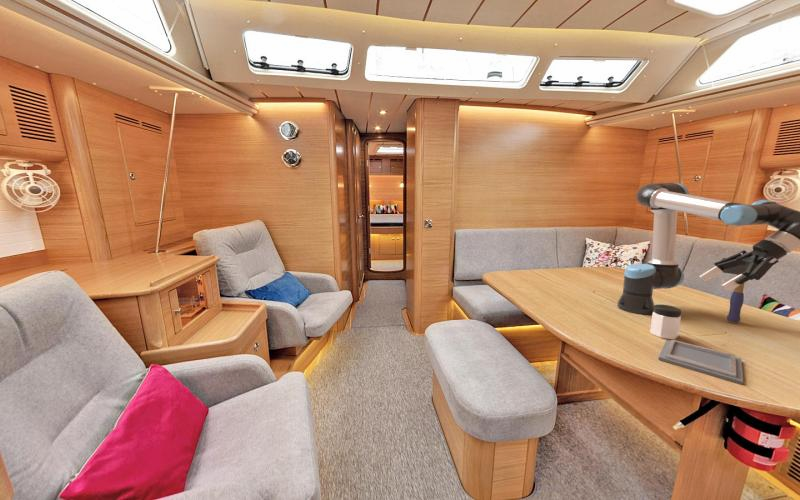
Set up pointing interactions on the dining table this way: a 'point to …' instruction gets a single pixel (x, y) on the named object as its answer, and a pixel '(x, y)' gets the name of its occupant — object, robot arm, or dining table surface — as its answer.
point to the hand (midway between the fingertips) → (713, 283)
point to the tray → (698, 364)
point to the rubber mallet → (736, 294)
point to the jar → (666, 321)
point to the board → (703, 361)
